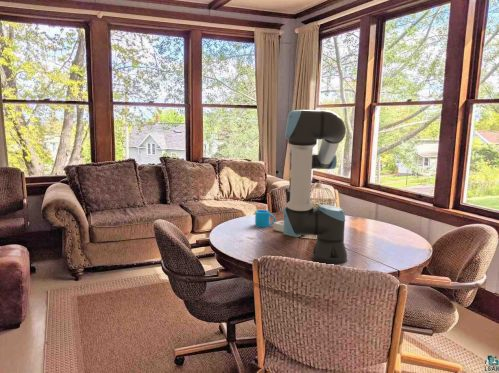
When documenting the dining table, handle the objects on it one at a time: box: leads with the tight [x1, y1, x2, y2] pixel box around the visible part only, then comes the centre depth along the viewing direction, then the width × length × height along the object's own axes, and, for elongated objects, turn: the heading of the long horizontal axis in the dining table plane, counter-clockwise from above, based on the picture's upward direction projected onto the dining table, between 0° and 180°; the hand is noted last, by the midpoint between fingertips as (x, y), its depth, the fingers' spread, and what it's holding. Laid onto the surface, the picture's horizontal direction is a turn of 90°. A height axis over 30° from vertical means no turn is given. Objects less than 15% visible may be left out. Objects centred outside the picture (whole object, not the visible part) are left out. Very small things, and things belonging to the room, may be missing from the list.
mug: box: [254, 209, 276, 228], centre depth 236 cm, size 12×8×8 cm
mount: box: [273, 220, 284, 233], centre depth 227 cm, size 7×7×4 cm
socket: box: [282, 226, 301, 238], centre depth 219 cm, size 9×9×6 cm
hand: (295, 221), depth 218 cm, fingers closed on pin, 3 cm apart
